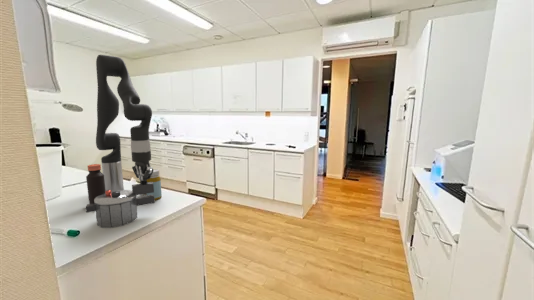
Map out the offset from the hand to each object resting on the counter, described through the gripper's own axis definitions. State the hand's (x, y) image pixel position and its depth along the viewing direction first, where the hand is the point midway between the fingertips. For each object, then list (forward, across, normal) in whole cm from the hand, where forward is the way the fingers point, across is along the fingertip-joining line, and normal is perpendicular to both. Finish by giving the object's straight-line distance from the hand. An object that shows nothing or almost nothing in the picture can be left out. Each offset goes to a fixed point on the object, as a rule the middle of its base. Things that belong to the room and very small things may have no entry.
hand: (144, 187), depth 104 cm
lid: (+2, 0, -8) cm, 9 cm away
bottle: (+11, -11, +12) cm, 20 cm away
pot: (+11, 0, -10) cm, 15 cm away
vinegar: (+11, -25, -8) cm, 29 cm away
